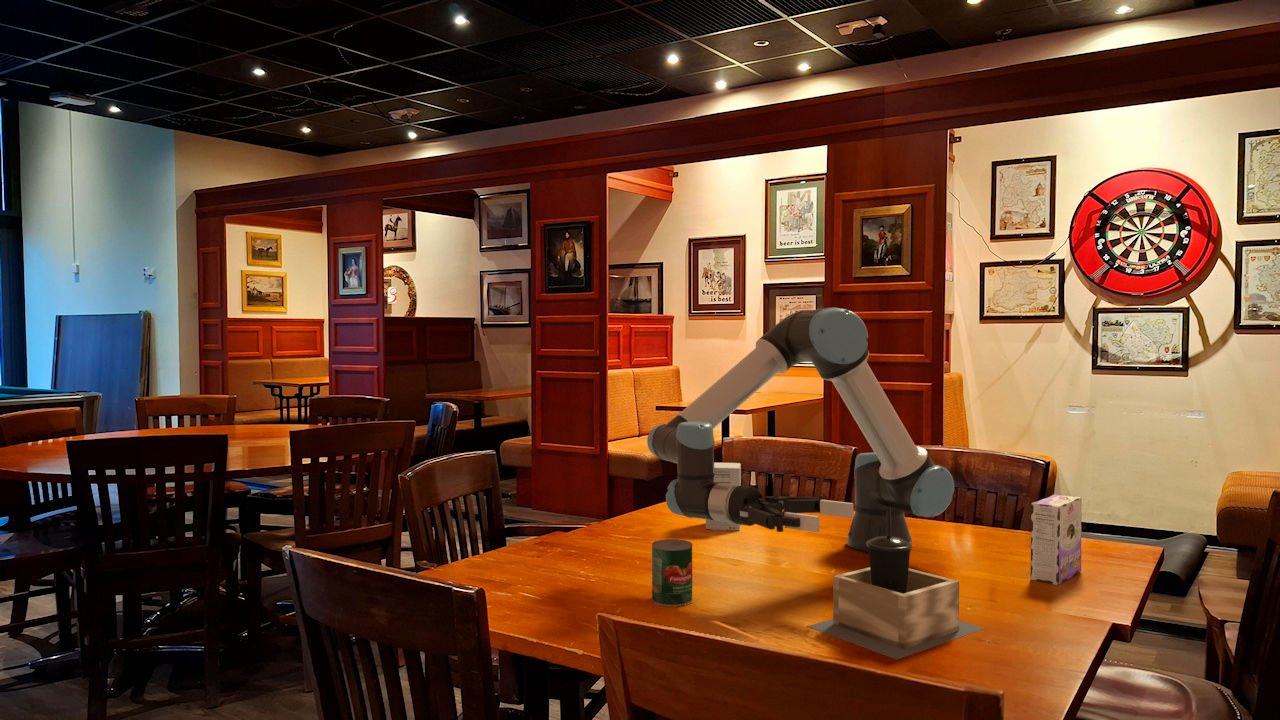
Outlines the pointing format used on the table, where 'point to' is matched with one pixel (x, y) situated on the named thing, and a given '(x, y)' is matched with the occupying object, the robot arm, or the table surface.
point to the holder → (897, 607)
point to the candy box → (1055, 539)
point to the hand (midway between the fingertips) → (836, 517)
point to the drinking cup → (889, 560)
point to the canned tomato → (672, 572)
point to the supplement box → (726, 475)
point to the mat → (885, 647)
